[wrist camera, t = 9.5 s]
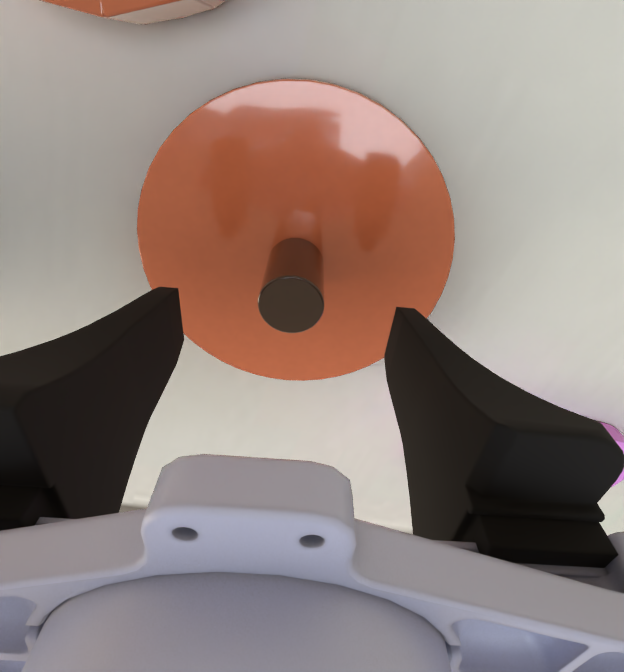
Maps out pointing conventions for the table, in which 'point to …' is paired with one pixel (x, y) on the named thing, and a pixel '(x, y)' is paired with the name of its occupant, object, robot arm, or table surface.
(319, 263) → the lid
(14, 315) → the table surface
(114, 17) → the basin
